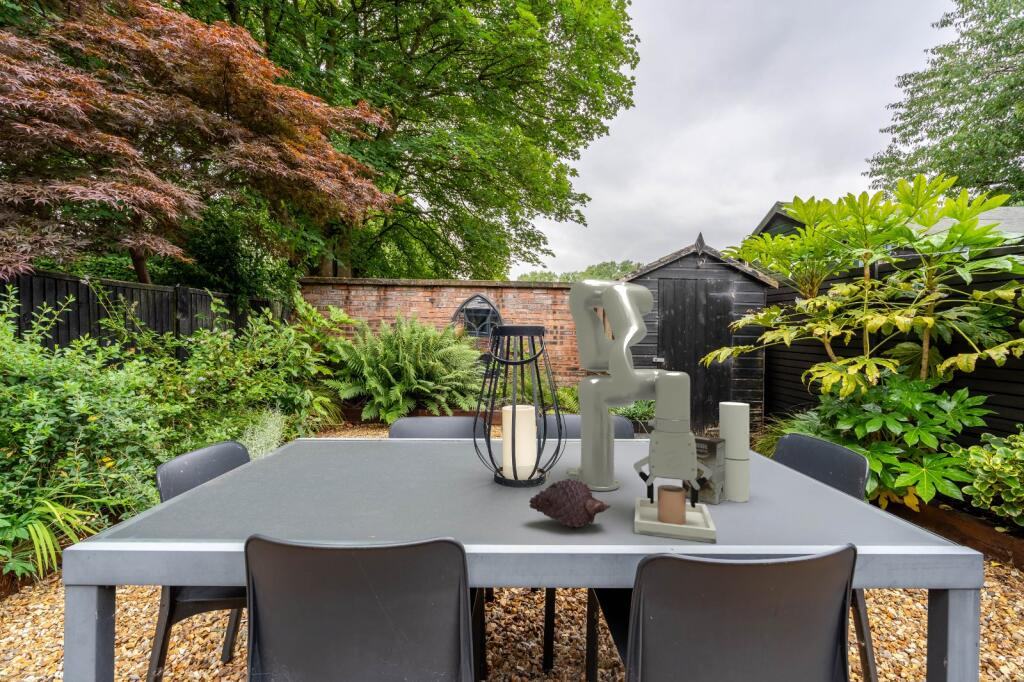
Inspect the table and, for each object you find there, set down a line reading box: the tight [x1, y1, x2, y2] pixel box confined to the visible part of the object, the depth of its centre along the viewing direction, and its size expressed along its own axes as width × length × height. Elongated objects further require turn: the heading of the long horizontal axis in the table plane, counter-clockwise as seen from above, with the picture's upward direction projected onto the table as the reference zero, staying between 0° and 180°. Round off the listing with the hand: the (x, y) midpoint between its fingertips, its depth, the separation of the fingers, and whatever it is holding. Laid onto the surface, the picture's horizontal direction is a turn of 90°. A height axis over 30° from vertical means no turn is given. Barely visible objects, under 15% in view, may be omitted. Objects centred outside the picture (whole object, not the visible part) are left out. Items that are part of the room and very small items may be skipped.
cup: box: [657, 484, 687, 525], centre depth 99 cm, size 6×6×7 cm
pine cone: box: [528, 478, 612, 528], centre depth 98 cm, size 18×10×10 cm, turn 83°
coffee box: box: [681, 433, 725, 506], centre depth 117 cm, size 9×6×16 cm
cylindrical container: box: [718, 401, 750, 503], centre depth 118 cm, size 7×7×25 cm
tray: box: [634, 497, 717, 544], centre depth 99 cm, size 16×16×2 cm
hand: (672, 503), depth 99 cm, fingers open, 8 cm apart
